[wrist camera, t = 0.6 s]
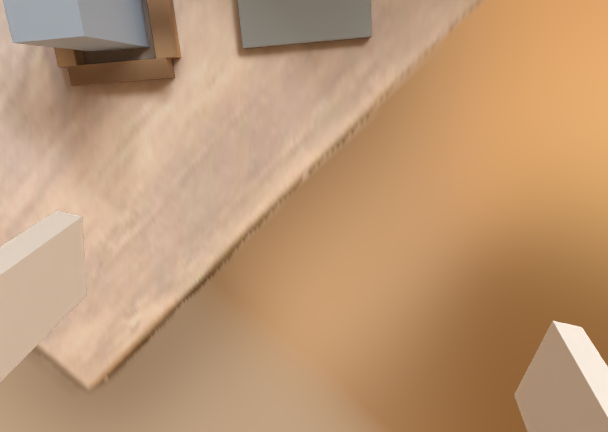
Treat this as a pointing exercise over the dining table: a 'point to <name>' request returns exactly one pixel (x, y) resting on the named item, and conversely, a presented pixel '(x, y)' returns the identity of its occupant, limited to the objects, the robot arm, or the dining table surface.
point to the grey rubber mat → (302, 21)
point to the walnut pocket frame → (135, 69)
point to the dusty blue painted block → (78, 24)
